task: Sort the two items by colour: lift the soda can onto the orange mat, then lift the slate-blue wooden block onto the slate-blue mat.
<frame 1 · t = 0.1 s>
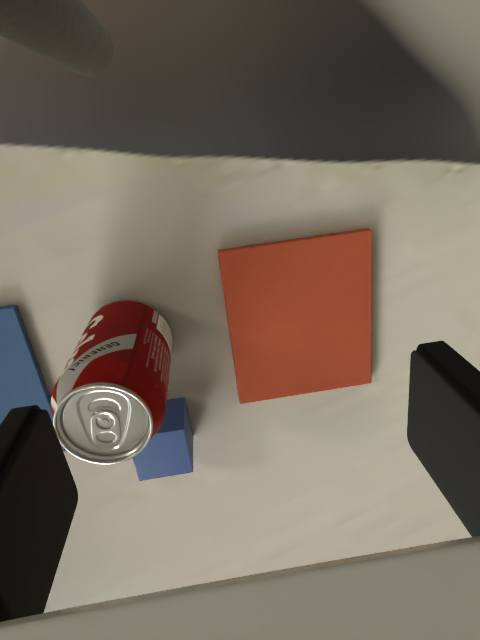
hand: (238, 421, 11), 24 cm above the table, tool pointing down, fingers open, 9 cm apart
soda can: (131, 334, 36), on the table
blue block: (164, 421, 39), on the table
orange mat: (299, 320, 36), on the table
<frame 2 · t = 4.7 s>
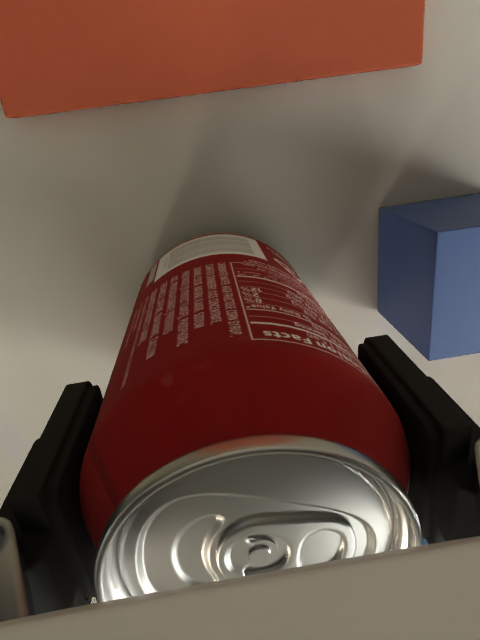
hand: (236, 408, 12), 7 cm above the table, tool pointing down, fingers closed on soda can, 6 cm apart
soda can: (220, 306, 18), on the table, touching gripper
blue block: (430, 254, 18), on the table
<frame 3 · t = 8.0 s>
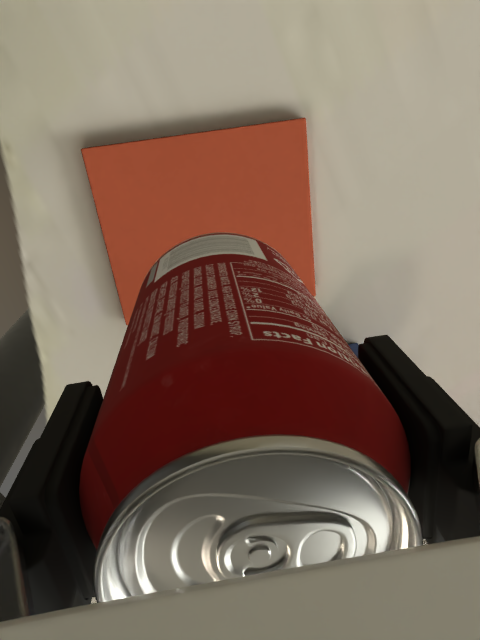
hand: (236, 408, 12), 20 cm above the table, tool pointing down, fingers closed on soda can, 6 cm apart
soda can: (220, 306, 18), point 13 cm above the table, touching gripper
orange mat: (208, 227, 30), on the table
when the fingers open (8 cm above the table, at t = 11.3 s): soda can stays where it is, resting on orange mat.
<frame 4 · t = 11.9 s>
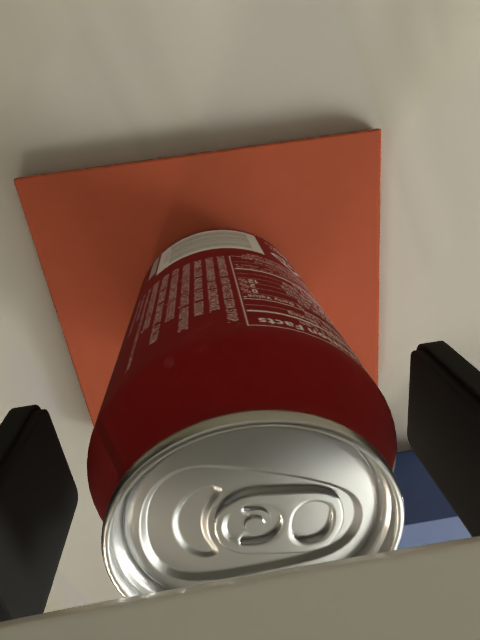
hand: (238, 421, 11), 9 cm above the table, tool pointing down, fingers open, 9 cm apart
soda can: (220, 300, 19), resting on orange mat
blue block: (389, 483, 25), on the table
orange mat: (221, 295, 19), on the table
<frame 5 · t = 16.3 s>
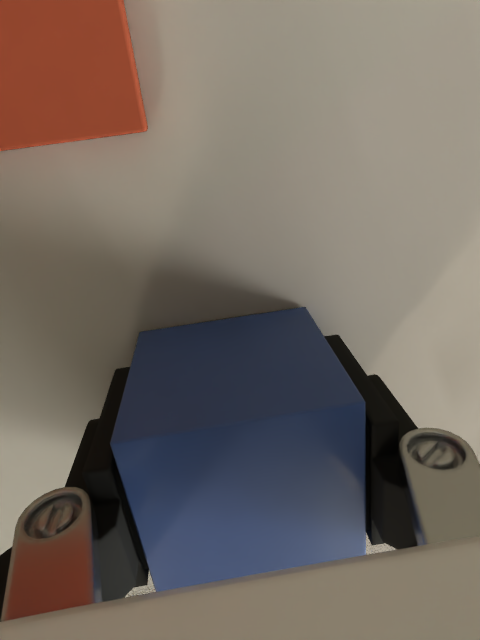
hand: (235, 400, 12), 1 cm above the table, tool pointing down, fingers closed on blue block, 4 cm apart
blue block: (233, 389, 12), on the table, touching gripper
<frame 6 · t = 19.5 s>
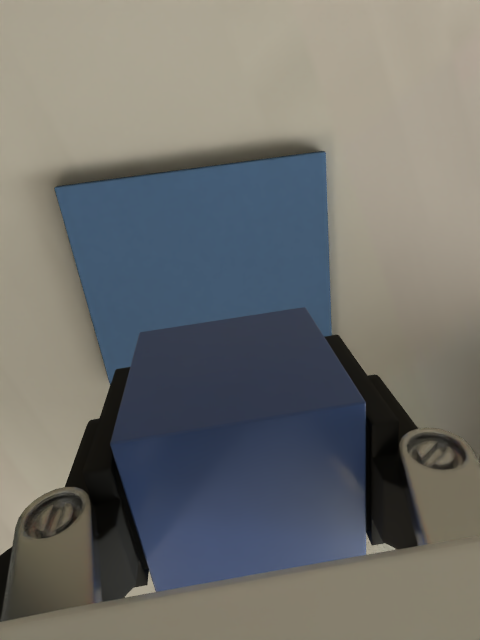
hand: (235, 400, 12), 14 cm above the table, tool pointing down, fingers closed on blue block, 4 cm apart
blue mat: (208, 276, 25), on the table
blue block: (233, 389, 12), point 13 cm above the table, touching gripper
when the fingers open (1 cm above the table, at t = 22.8 s): blue block stays where it is, resting on blue mat.
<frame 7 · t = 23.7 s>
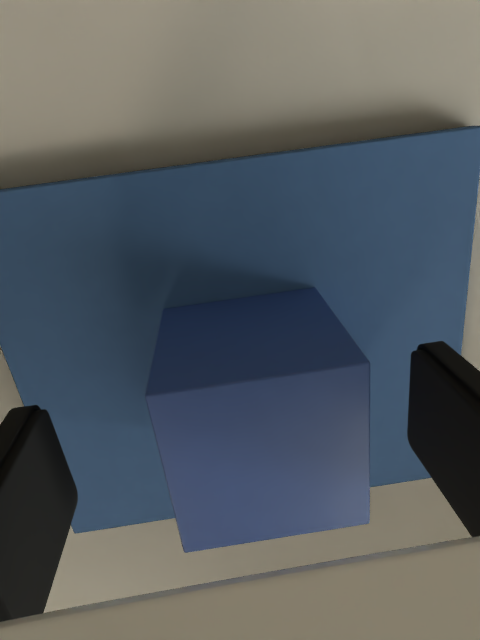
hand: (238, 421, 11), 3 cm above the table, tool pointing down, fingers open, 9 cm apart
blue mat: (243, 355, 14), on the table
blue block: (248, 364, 13), point 1 cm above the table, touching blue mat
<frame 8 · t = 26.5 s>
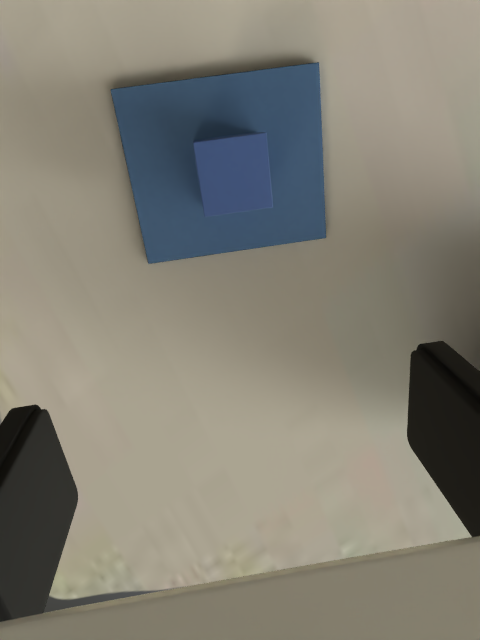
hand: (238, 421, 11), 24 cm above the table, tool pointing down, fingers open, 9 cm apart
blue mat: (227, 169, 32), on the table
blue block: (229, 170, 31), point 1 cm above the table, touching blue mat
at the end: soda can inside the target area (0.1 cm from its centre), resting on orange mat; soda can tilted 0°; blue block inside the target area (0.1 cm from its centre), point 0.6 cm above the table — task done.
